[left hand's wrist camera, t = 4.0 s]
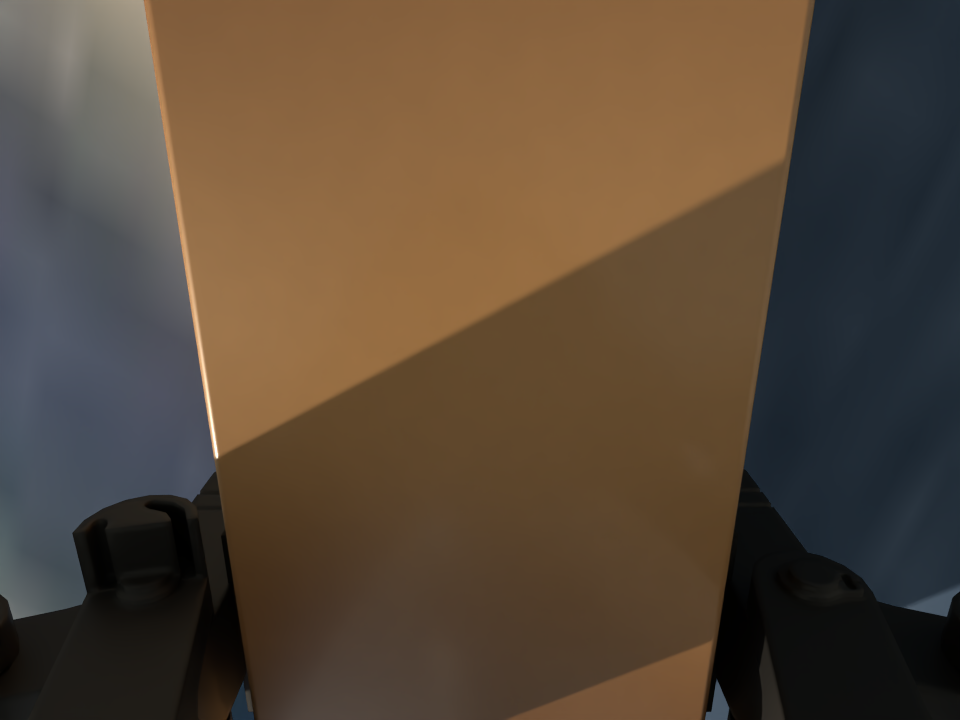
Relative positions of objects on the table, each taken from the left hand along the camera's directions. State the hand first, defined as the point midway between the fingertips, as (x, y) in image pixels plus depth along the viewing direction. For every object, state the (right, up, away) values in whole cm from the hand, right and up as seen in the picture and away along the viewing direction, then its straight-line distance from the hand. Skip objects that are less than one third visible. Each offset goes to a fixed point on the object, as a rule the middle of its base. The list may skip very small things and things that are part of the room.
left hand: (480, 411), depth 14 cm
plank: (0, +23, -8) cm, 24 cm away
